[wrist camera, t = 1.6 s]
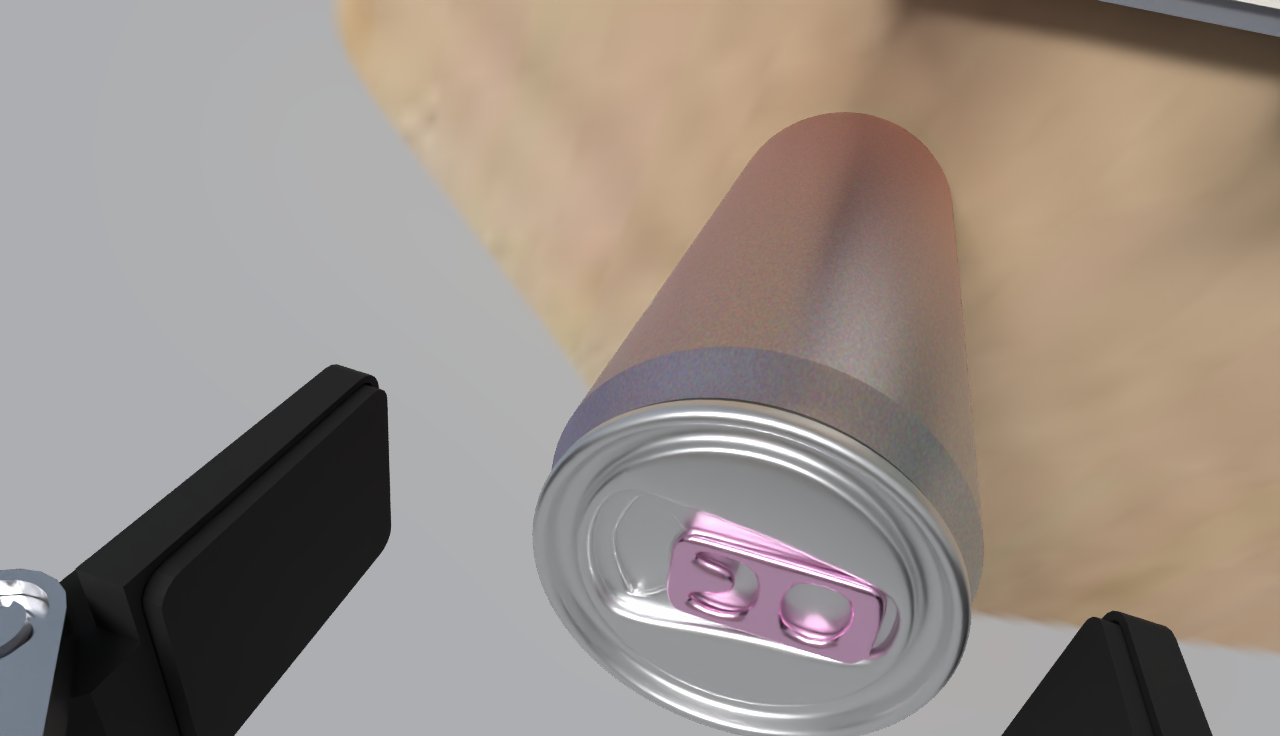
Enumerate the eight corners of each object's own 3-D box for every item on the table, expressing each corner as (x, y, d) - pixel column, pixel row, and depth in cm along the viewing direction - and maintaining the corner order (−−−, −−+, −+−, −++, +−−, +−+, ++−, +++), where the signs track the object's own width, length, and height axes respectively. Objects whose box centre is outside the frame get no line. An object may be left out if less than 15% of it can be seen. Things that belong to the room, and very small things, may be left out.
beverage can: (917, 327, 23) (907, 807, 11) (723, 285, 24) (516, 671, 12) (982, 126, 20) (1076, 481, 7) (755, 90, 21) (518, 342, 9)
